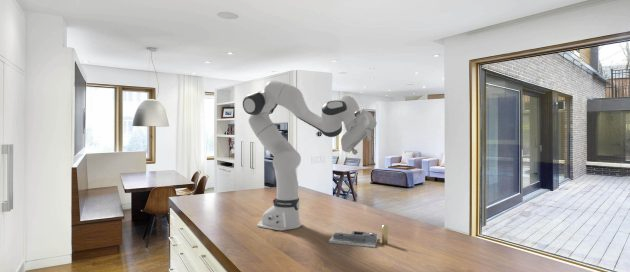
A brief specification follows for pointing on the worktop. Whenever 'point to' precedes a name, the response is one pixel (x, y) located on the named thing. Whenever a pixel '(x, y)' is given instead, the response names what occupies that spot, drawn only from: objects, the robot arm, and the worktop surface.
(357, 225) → the worktop surface
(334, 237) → the chain jig
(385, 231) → the brass pin
